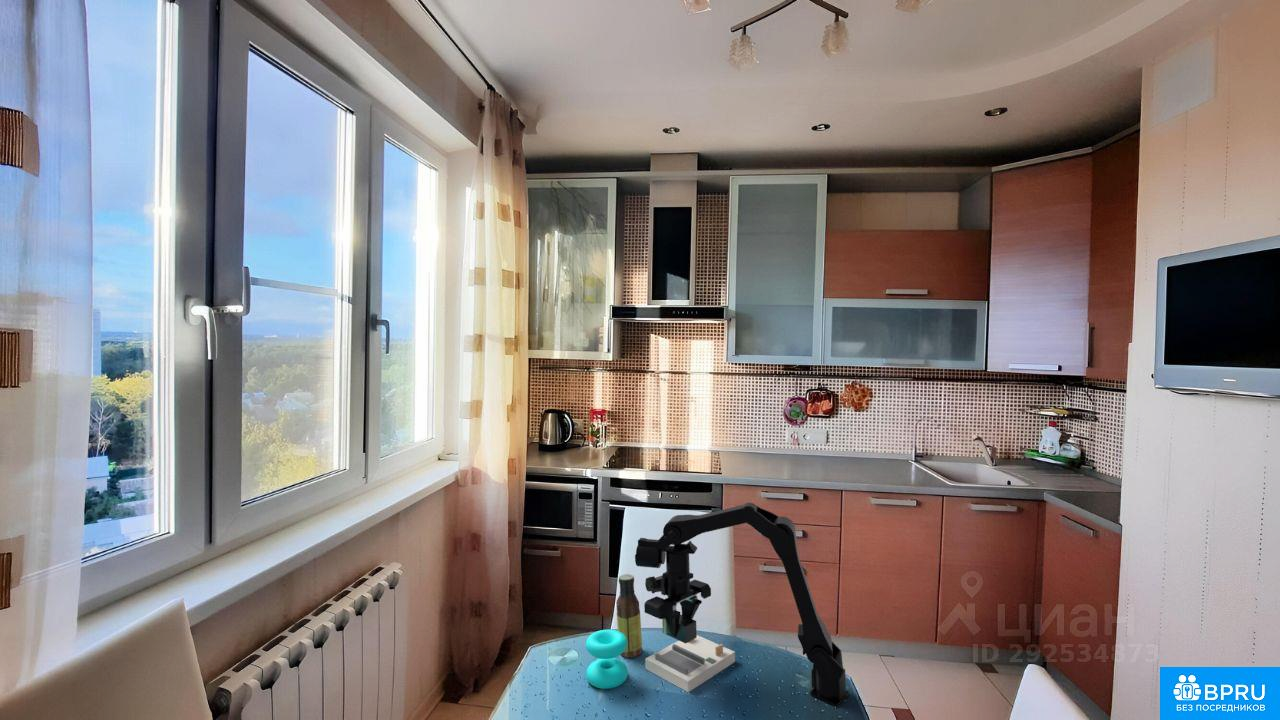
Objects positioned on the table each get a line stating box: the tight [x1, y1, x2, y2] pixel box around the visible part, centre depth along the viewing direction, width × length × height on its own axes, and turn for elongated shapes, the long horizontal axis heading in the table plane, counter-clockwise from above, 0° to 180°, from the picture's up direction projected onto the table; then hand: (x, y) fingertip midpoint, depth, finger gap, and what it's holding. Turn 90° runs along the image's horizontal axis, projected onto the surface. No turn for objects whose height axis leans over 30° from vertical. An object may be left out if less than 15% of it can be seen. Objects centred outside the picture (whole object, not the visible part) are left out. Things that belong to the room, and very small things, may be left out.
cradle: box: [644, 634, 736, 693], centre depth 134 cm, size 14×18×4 cm
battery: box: [661, 613, 698, 644], centre depth 132 cm, size 8×4×4 cm, turn 44°
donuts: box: [585, 629, 629, 690], centre depth 129 cm, size 10×10×10 cm
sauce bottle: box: [615, 573, 643, 658], centre depth 141 cm, size 7×6×20 cm
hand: (679, 633), depth 131 cm, fingers closed on battery, 4 cm apart
